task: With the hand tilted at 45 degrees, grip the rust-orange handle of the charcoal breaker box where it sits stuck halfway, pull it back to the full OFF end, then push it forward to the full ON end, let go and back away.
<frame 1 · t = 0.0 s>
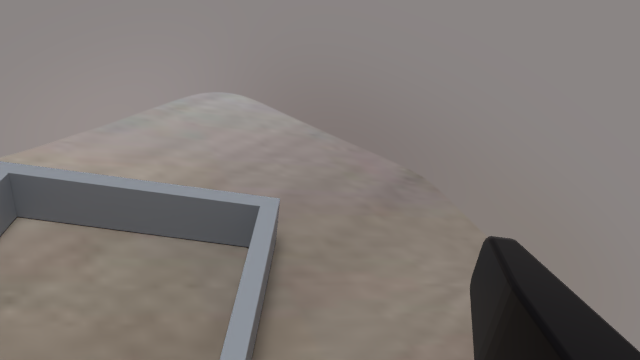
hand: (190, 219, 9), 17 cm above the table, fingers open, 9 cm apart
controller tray: (89, 320, 28), on the table
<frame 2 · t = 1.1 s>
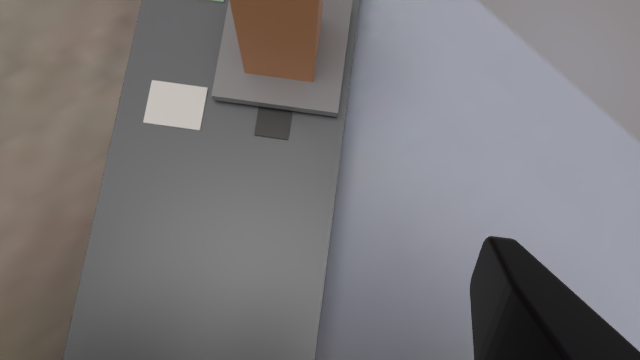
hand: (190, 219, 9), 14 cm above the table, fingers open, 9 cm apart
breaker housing: (223, 227, 23), on the table
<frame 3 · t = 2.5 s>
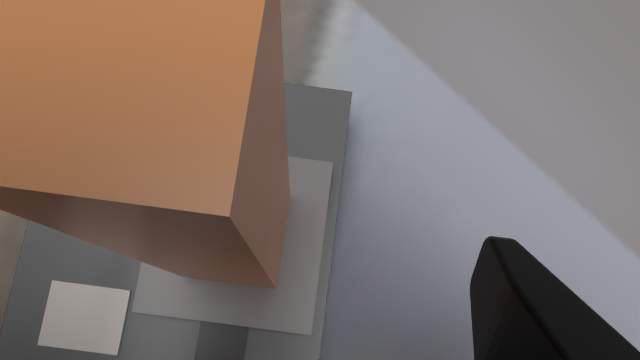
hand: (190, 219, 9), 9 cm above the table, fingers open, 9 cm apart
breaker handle: (206, 192, 10), point 8 cm above the table, slide at 2.5 cm
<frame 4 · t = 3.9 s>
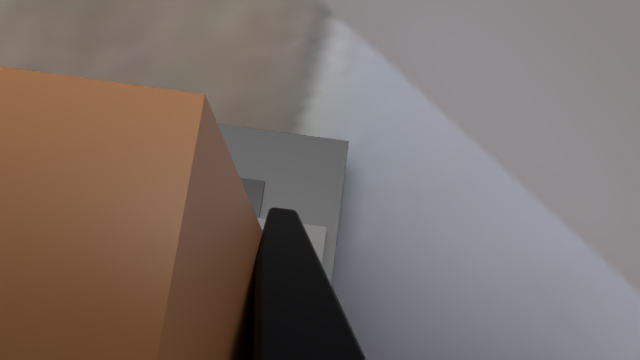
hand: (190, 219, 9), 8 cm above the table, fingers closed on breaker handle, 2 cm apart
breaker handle: (163, 312, 8), point 8 cm above the table, slide at 2.5 cm, touching gripper
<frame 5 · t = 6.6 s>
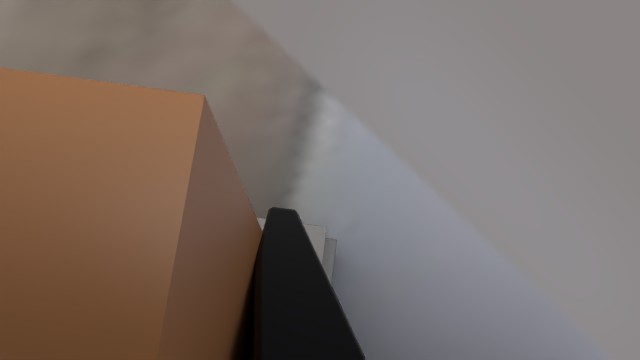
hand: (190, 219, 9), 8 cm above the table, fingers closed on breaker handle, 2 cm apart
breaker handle: (163, 312, 8), point 8 cm above the table, slide at 5.0 cm, touching gripper
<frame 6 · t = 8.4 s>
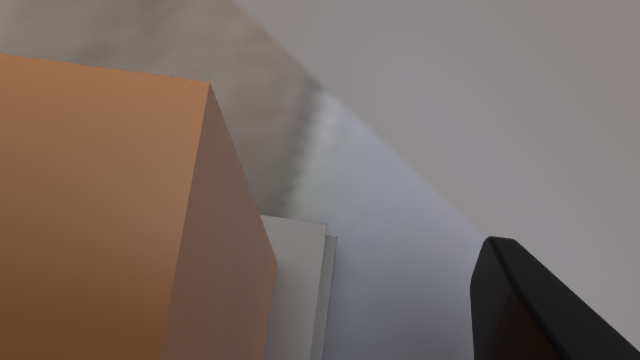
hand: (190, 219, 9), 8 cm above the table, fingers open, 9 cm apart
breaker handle: (165, 305, 8), point 8 cm above the table, slide at 5.0 cm
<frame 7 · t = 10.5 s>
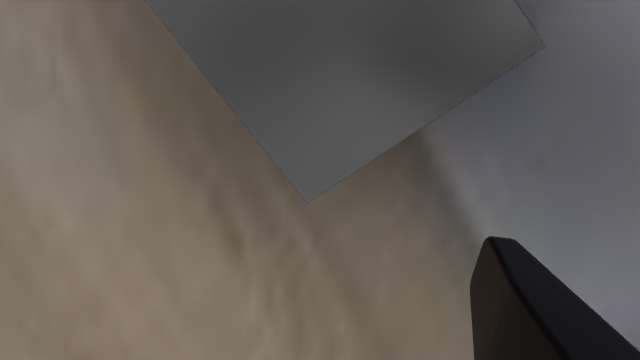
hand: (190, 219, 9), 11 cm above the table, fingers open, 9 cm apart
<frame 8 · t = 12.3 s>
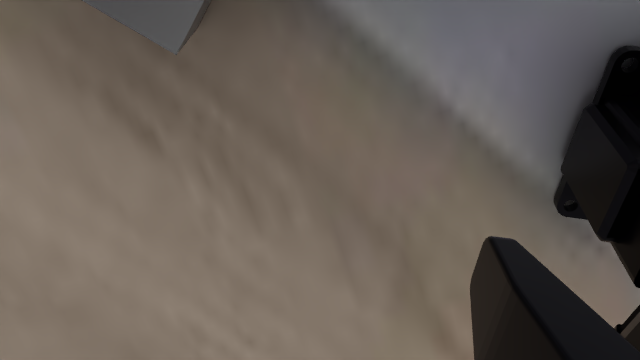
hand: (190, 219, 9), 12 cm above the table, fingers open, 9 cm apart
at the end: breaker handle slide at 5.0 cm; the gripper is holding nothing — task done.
